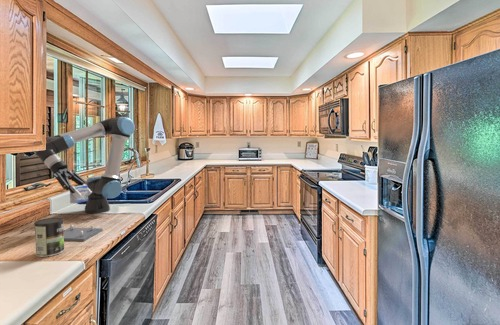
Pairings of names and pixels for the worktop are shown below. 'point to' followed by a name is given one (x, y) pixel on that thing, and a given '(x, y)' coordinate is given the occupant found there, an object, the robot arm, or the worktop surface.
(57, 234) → the coffee can
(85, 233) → the pin tray
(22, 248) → the worktop surface
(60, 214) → the worktop surface
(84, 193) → the medicine box
